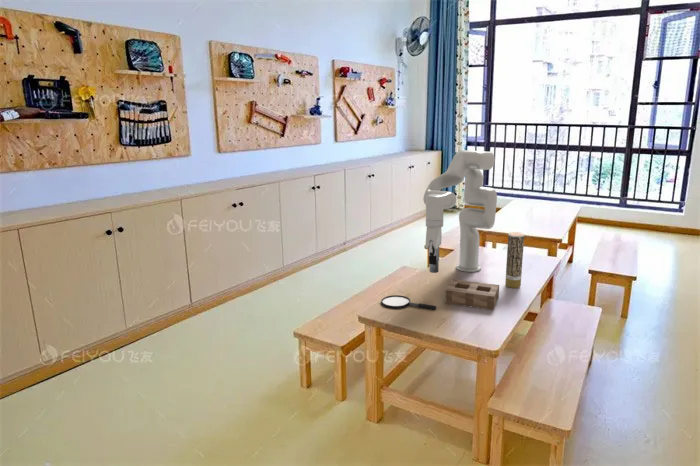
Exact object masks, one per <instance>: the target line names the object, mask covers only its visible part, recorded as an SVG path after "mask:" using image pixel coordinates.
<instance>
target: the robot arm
mask: <svg viewBox="0 0 700 466" xmlns="http://www.w3.org/2000/svg"><path fill="white" fill-rule="evenodd" d="M495 163H496V158H495V155H494V153H493V152H491V151H482V150H465V149H463V150H459V151H457V152H455V154H454V156H453V158H452V160H451V162H450V164H449V166H448V167H447V169H446V171H445V172H444V173H442V174H439V176H437V177H435V178H434V179H432V180H431V181H430V182H429V184H428V185H427V188H426V190H425V192H424V194H423V199H422V200H423V203H424V204H425V227H426V231H425V233H426V234H425V247H424V248H425V250H428V265H429V264H433V265H436V249H437V248H438V247H439V248H440V246H441V244H442V236H443V235H442V227H444V210H448V209H451V208H453V207H454V206H455V204H456V203H457V196H456V194H455V193H454V192H452V191H448V190H443V189H446V188H449V187H453V186H457V185H458V184H459V185H460V184H461V183H463V181H464V179H465V181H464V183H465V184H464V193H463V201H464V203H465V204H466V205H468V206H473V207H474V206H475V207H482V208H484V209H482V208H475V207H474V208H473V207H465V208H463V209H461V210H460V211H459V214H458V220H459V221H458V223H459V229H460V231H459V232H460V234H459V235H460V237H459V263H457V264H456V265H455V267H456V270H458V271H462V272H466V273H474V272H480V271H481V270H482V266H481V265H480V264H479V256H480V255H479V254H480V253H479V252H480V233H479V231H478V229H484V230H491V229H492V228H493V227H494V225H495V222H496V221H495V220H496V213H497V202H498V195H497V191H496V189H495V188H492V187H486V186H485V187H484V186H483V185H484V183H483V182H484V175H483V173H482V170H483V171H485V170H486V171H487V170H491V169H492V168H493V167H494V165H495ZM433 248H434V249H433ZM432 250H434V251H432Z"/></svg>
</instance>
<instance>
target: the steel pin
mask: <svg viewBox="0 0 700 466" xmlns="http://www.w3.org/2000/svg"><path fill="white" fill-rule="evenodd" d="M433 249H434V248H433ZM432 251H434V250H432ZM439 262H440V246H439V247H438V248H437V249H436V265H433V264H429V263H428V265H429V273H432V274H436V273H439V269H440V268H439V264H440V263H439Z"/></svg>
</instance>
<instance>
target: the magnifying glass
mask: <svg viewBox="0 0 700 466" xmlns="http://www.w3.org/2000/svg"><path fill="white" fill-rule="evenodd" d="M381 306H383V307H385V308H387V309H392V310H402V309H406V308H408V307H411V308H412V307H413V308H418V309H423V310H428V311H429V310H430V311H437V308H438V307H437V305H435V304H434V305H433V304H427V303H420V302H418V303H417V302H411V299H410V298H409V297H408V296H404V295H397V294H396V295H394V294H393V295H388V296H385V297H382V298H381Z"/></svg>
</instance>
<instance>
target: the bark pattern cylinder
mask: <svg viewBox="0 0 700 466" xmlns="http://www.w3.org/2000/svg"><path fill="white" fill-rule="evenodd" d="M524 243H525V234H524V233H523V232H519V231H518V232H517V231H511V232H509V233H508V236H507V252H506V264H505V265H506V269H505V282H504V283H505V286H506V287H507V288H510V289H519V288H520V287H521V285H522V274H523V272H522V271H523V258H524Z"/></svg>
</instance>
